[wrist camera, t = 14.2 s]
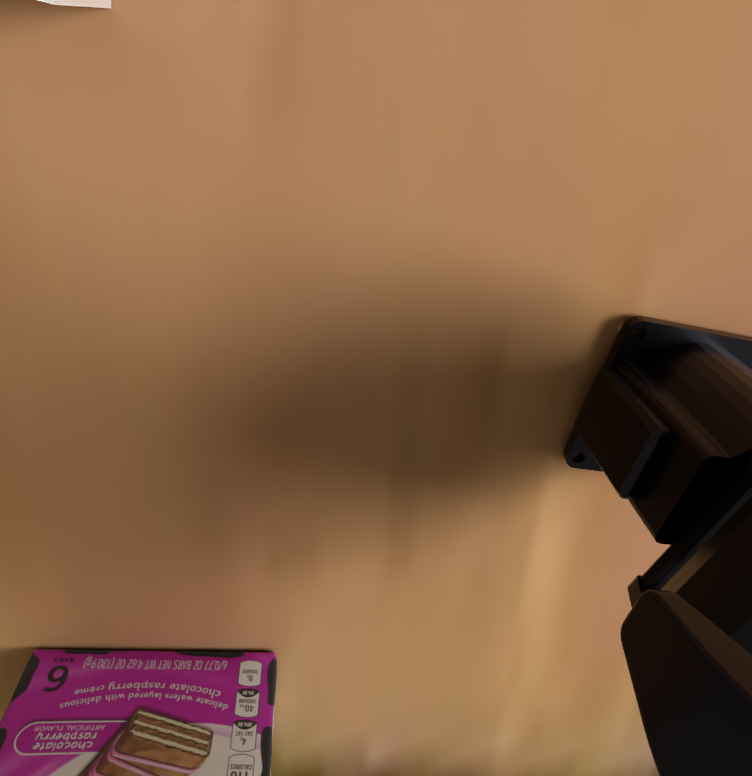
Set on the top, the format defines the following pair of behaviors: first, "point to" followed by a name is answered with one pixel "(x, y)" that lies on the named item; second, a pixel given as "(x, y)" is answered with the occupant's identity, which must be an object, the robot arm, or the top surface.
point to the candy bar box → (141, 714)
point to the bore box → (81, 3)
